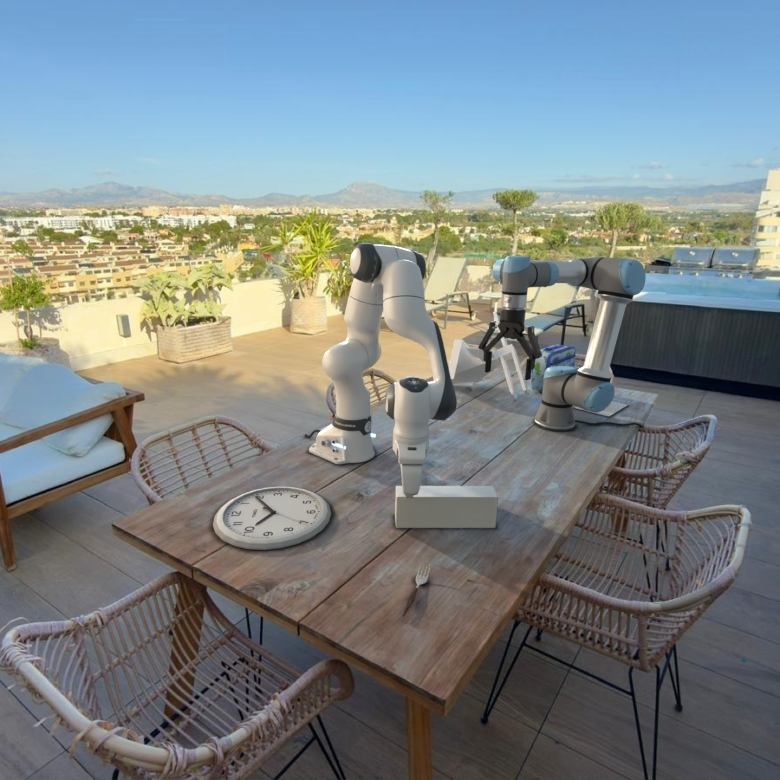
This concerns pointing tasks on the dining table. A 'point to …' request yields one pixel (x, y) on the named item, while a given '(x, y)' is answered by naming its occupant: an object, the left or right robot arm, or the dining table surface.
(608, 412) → the invitation card
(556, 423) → the right robot arm
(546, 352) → the lunch box
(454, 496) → the bar
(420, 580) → the fork
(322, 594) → the dining table surface
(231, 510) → the wall clock
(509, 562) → the dining table surface
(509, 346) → the white plastic object
